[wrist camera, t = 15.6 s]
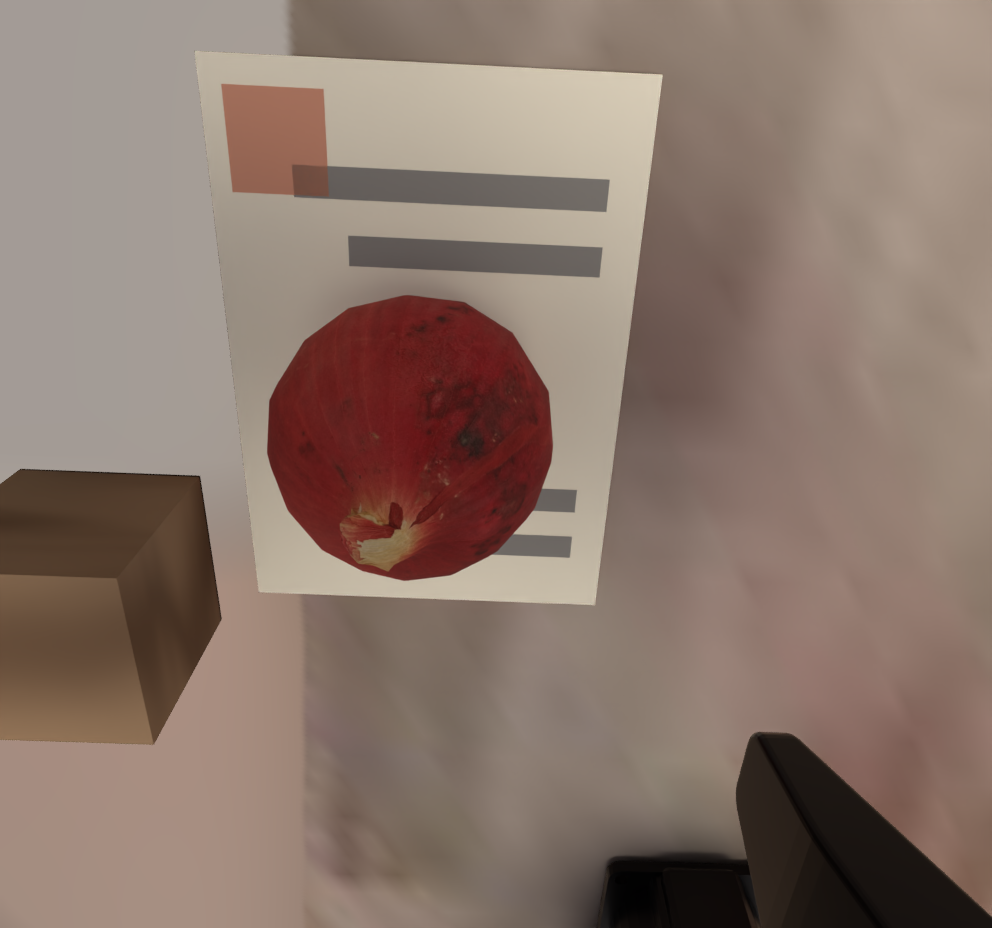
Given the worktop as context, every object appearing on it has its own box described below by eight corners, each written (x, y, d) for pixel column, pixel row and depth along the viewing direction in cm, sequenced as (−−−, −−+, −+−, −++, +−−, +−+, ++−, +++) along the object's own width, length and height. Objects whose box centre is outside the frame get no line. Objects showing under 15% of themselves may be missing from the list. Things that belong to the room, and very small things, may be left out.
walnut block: (222, 618, 23) (153, 744, 18) (59, 612, 23) (-49, 738, 18) (200, 475, 20) (116, 578, 16) (20, 468, 20) (-114, 570, 16)
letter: (593, 596, 22) (595, 605, 22) (262, 584, 22) (258, 592, 22) (658, 75, 16) (662, 74, 16) (201, 51, 16) (194, 50, 15)
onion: (460, 212, 17) (434, 296, 10) (583, 407, 19) (636, 594, 12) (267, 344, 18) (120, 502, 11) (402, 511, 20) (352, 734, 13)
